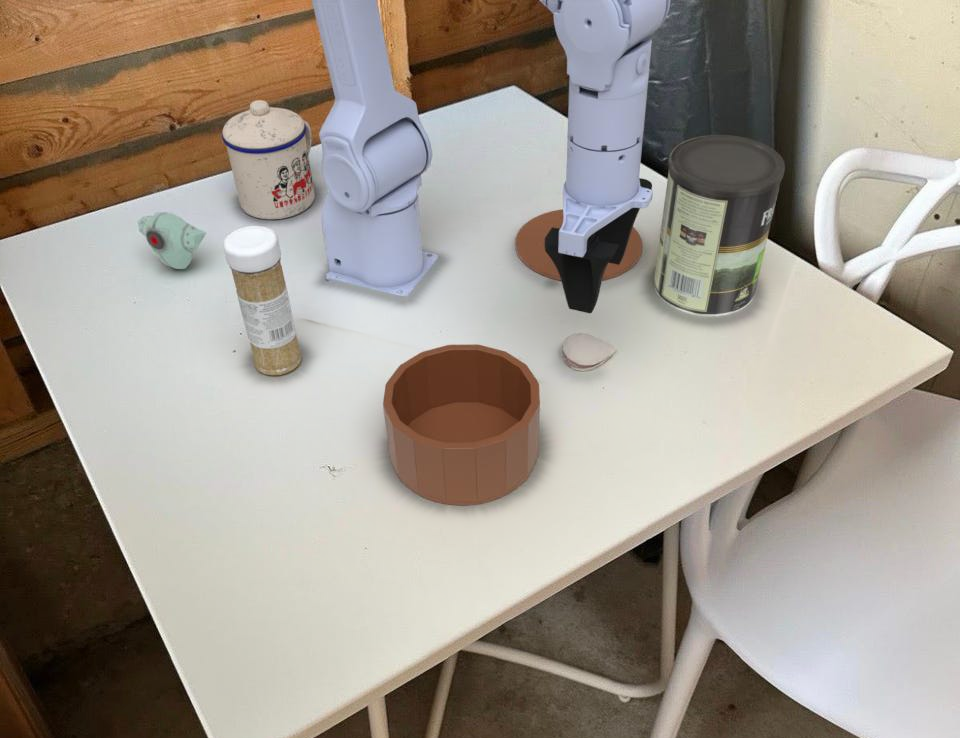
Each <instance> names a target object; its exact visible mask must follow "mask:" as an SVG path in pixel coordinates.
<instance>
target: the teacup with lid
mask: <svg viewBox="0 0 960 738" xmlns="http://www.w3.org/2000/svg"><path fill="white" fill-rule="evenodd" d="M312 135H313V134H312V128H311V126H310V124H309V123H308V122H307V121H306V120H304V119H303V118H302V117H301V116H300V115H299V114H298V113H296V112H295V111H292V110H290V109H287V108H282V107H272V106H269V103H268V101H266V100H265V99H264V100H263V99H262V100H261V99H257V100H254V101H252V102H251V103H250V105H249V109H248V110H245V111H242V112H240V113H237V114H236V115H233V116H232V117H231V118H230V119H228V120H227V121H226V123H225V124H224V126H223V128H222V133H221V139H222V142H223V143H224V144H225V146H226V150H227V155H228V160H229V164H230V167H231V172H232V176H233V180H234V185H235V190H236V194H237V197H238V202H239V206H240V208H241V209H242V210H243V212H245V214H247V215H249V216H250V217H251V216H252V217H254V218H256V219H261V220H282V219H287V218H290V217H294V216H296V215H299V214H301V213H302V212H304V211H306V210H307V209H309V207H310V206H312V204H313V202H314V201H315V195H316V194H315V193H316V192H315V187H314V182H313V175H312V169H311V163H310V157H309V156H310V153H311V150H312V143H313V140H312V139H313V136H312Z"/></svg>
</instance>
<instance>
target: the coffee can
mask: <svg viewBox="0 0 960 738" xmlns="http://www.w3.org/2000/svg"><path fill="white" fill-rule="evenodd" d="M667 166H668V173H667V180H666V181H667V182H666V189H665V196H664V204H663V211H662V218H661V226H660V233H659V240H658V247H657V248H658V249H657V257H656V263H655V271H654V279H653V286H654V289H655V292H656V294H657V295H658V297H659V298H660V299H661V300H662V301H663V302H664V303H666V304H667V305H669V306H671V307H672V308H674V309H676V310H678V311H680V312H681V311H682V312H684V313H688V314H691V315H695V316H704V317H717V316H718V317H719V316H726V315H731V314H734V313H736V312H737V313H738V312H739V311H741V310H743V309H745V308H747V306H748V305H749V304H751V302H752V301H753V299H754V297H755V294H756V291H757V290H756V289H757V285H758V280H759V277H760V272H761V268H762V263H763V259H764V254H765V251H766V245H767V243H768V238H769V234H770V229H771V225H772V220H773V216H774V212H775V209H776V208H775V207H776V202H777V198H778V196H779V191H780V186H781V182H782V180H783V178H784V175H785V172H786V163H785V159H784V158H783V156H781V154H780V153H779V152H777V151H776V150H775V149H774V148H772V147H770V146H769V145H767V144H765V143H763V142H760V141H757V140H755V139H752V138H748V137H743V136H739V135H731V134H730V135H729V134H710V135H709V134H708V135H701V136H696V137H693V138H689V139H687V140H684V141H682V142H680V143H679V144H677V145H676V146H674V147H673V149H672V150H671V151H670V153H669V156H668V162H667Z"/></svg>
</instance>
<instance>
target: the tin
mask: <svg viewBox="0 0 960 738" xmlns="http://www.w3.org/2000/svg"><path fill="white" fill-rule="evenodd" d="M540 397H541V396H540V383H539V381H538V380H537V378H536V376H535V375H534V374H533V373H532V371H531V370H530V368H529V366H528V365H527V364H526V363H525V362H523V361H521V360H520V359H518V358H517V357H515V356H514V355H512V354H511V353H508V352H507V351H504V350H501V349H497V348H494V347H489V346H485V345H482V344H472V343H471V344H446V345H443V346H439V347H436V348H431V349H428V350H423V351H421V352H419V353H417V354H416V355H415V356H413V357H411V358H409V359H407V360H406V361H404V362H403V363H401V364H400V365H399V366H397V368H396V370H395V371H394V372H393V374H392V375H391V376H390V378H389V379H388V380H387V382H386V383H385V387H384V394H383V399H382V400H383V402H382V408H383V415H384V423H385V430H386V438H387V447H388V454H389V458H390V461H391V464H392V467H393V470H394V472H395V474H396V475H397V477H398V478H399V480H400V481H401V482H402V484H404V486H406V487H407V488H408V489H409V490H410V491H412V492H413V493H415V494H416V495H419V496H420V497H422V498H424V499H427V500H429V501H432V502H435V503H439V504H444V505H450V506H474V505H480V504H485V503H489V502H493V501H496V500H498V499H501V498H503V497H505V496H507V495H509V494H510V493H512V492H514V491H515V490H516V489H518V488H519V487H520V486H521V485H522V484H524V482H525V481H526V480H527V479H528V478H529V476H530V475H531V473H532V472H533V470H534V468H535V466H536V462H537V459H538V456H539V442H540V441H539V438H540V437H539V436H540V412H541V411H540V410H541V407H540V406H541V405H540V404H541V401H540Z"/></svg>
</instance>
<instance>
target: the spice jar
mask: <svg viewBox="0 0 960 738" xmlns="http://www.w3.org/2000/svg"><path fill="white" fill-rule="evenodd" d="M222 245H223V246H222V247H223V251H224V256H225V260H226V263H227V265H228V267H229V269H230V270H231V274H232V277H233V282H234V286H235V289H236V290H235V292H236V296H237V300H238V304H239V308H240V312H241V315H242V320H243V323H244V327H245V332H246V336H247V339H248V341H249V344H250V348H251V352H252V356H253V365H254V367H255V369H256V370H257V371H258V372H260V373H262V374H264V375H266V376H267V375H268V376H281V375H286V374H287V373H290V372H292V371H293V370H295V369H296V368H297V367H298V366H300V364H301V361H302V358H303V357H302V356H303V354H302V351H301V349H300V347H299V342H298V337H297V333H296V326H295V321H294V317H293V312H292V306H291V301H290V297H289V292H288V291H289V290H288V288H287V283H286V280H285V275H284V271H283V265H282V262H281V260H282V251H281V247H280V242H279V238H278V235H277V233H276V232H275V231H274V230H272V229H271V228H269V227H266V226H262V225H248V226H244V227H240V228H238V229H235V230H233V231H232V232H230V233H229V234H227V236H225V238H224V240H223V244H222Z"/></svg>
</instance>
